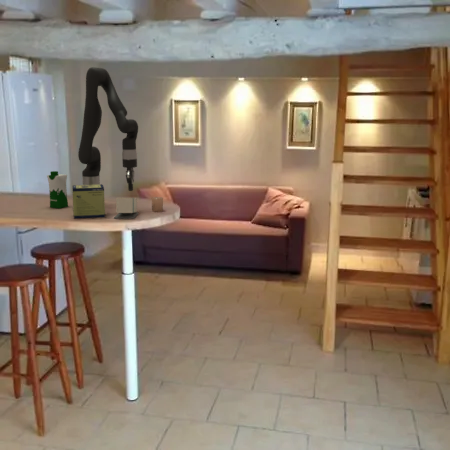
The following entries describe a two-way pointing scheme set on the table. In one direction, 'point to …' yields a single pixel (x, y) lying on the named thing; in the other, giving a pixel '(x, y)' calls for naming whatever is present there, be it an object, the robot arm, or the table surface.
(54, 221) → the table surface
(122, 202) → the oat carton
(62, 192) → the milk carton
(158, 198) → the tan small block
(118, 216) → the mat
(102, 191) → the protein box
